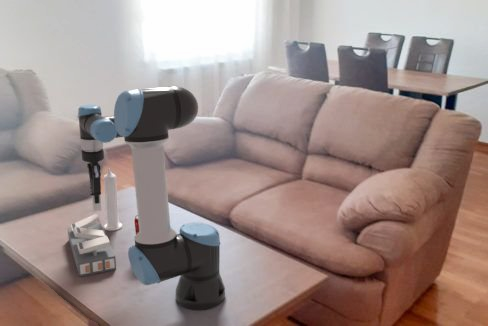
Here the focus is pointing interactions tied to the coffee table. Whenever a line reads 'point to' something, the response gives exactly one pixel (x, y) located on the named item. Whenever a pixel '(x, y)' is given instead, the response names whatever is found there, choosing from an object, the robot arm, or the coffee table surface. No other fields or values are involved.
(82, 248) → the rocker near
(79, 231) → the rocker mid
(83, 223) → the rocker far
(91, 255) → the console
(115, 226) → the candle
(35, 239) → the coffee table surface
